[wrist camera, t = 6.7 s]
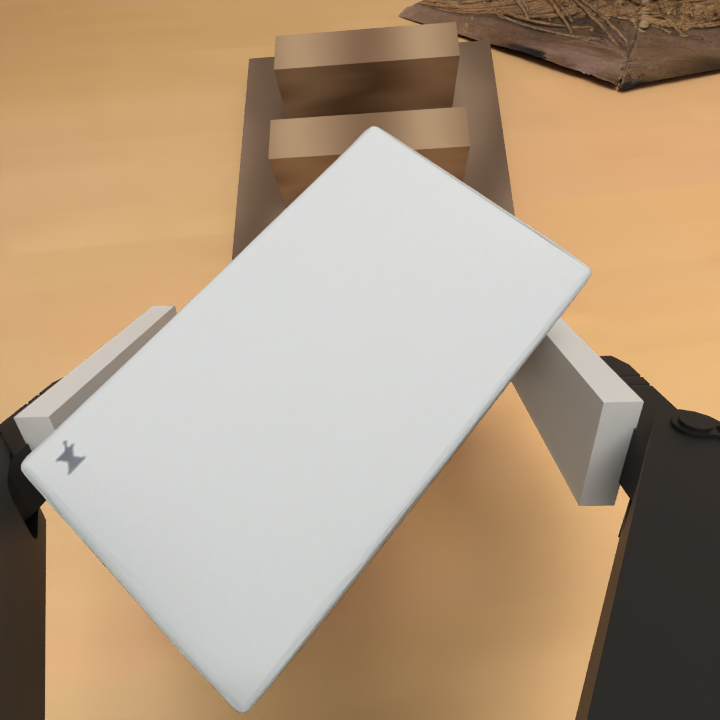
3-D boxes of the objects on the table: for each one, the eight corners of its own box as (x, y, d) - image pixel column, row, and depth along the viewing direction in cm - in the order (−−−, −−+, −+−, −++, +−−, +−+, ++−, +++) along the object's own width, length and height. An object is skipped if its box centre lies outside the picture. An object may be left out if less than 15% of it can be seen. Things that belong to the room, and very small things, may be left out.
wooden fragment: (796, -2, 30) (810, -20, 29) (793, 123, 27) (808, 109, 26) (423, -43, 34) (424, -60, 33) (385, 62, 31) (384, 47, 30)
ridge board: (237, 276, 26) (202, 226, 21) (253, 72, 31) (228, -6, 26) (515, 263, 25) (544, 207, 20) (486, 54, 30) (503, -30, 25)
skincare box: (325, 598, 17) (237, 741, 7) (209, 482, 18) (-3, 459, 8) (491, 390, 19) (611, 264, 9) (374, 302, 20) (363, 109, 10)
